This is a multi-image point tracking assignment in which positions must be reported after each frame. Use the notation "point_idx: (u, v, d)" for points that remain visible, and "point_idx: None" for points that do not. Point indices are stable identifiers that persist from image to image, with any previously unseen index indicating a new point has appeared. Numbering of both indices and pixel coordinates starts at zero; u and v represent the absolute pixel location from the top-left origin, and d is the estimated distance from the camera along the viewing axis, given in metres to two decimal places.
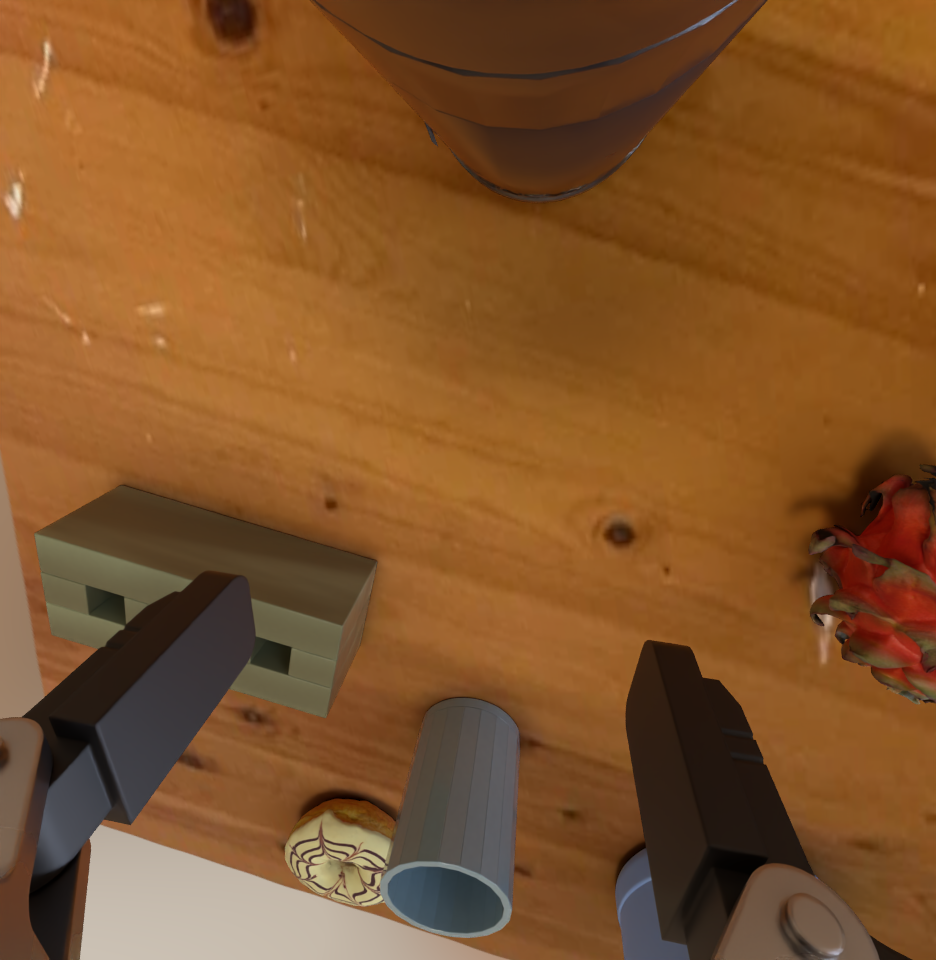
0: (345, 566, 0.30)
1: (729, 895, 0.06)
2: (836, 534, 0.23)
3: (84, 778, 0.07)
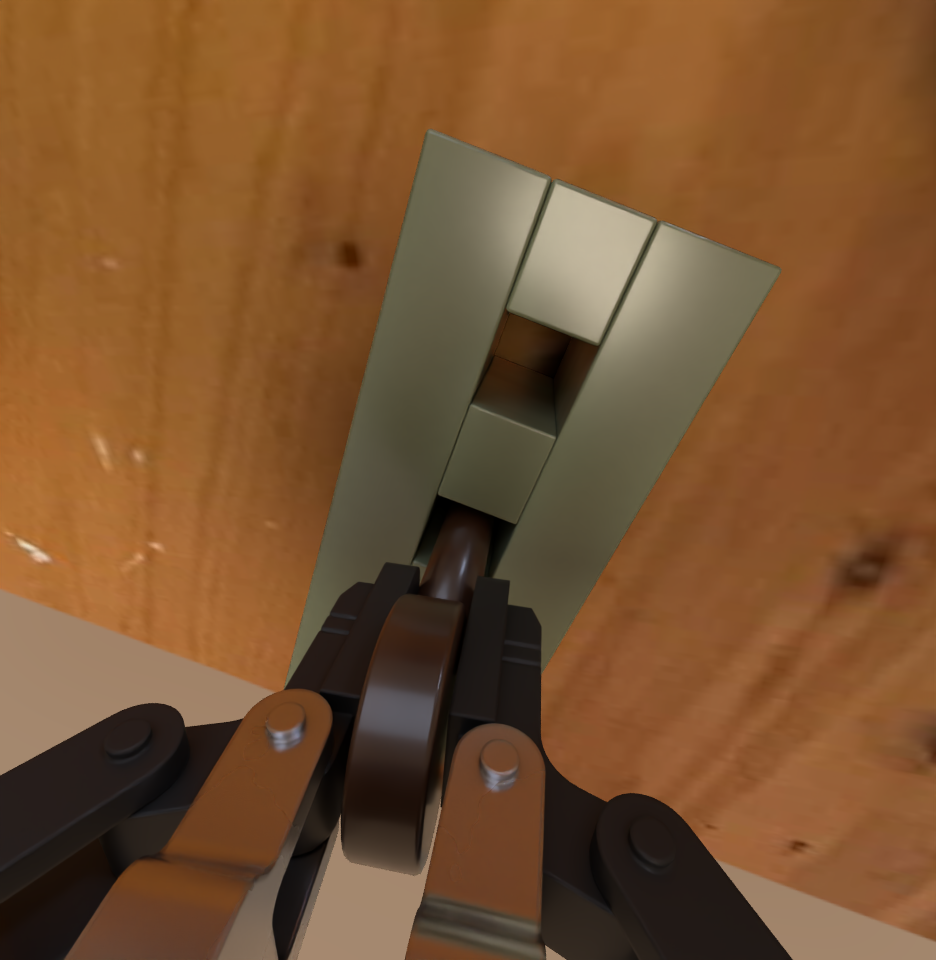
0: None
1: None
2: None
3: (348, 747, 0.07)
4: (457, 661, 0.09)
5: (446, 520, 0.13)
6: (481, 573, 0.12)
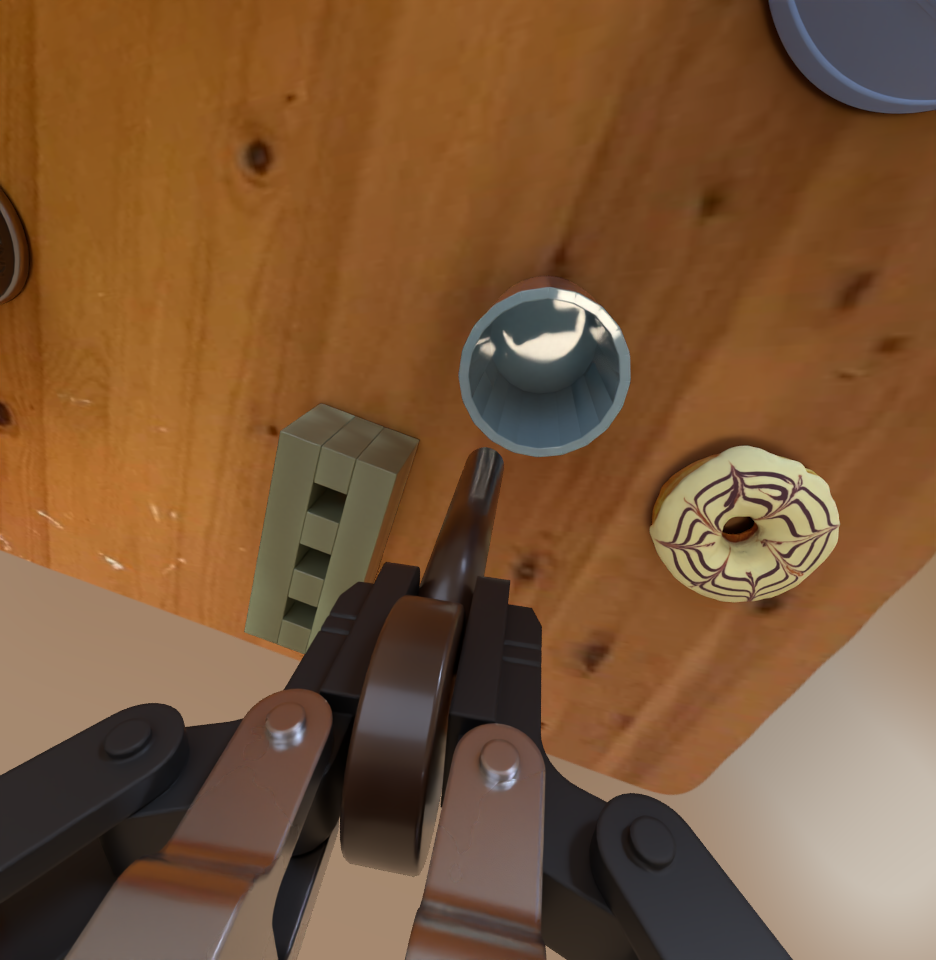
0: None
1: None
2: None
3: (348, 747, 0.07)
4: (456, 662, 0.09)
5: (446, 521, 0.13)
6: (481, 574, 0.12)
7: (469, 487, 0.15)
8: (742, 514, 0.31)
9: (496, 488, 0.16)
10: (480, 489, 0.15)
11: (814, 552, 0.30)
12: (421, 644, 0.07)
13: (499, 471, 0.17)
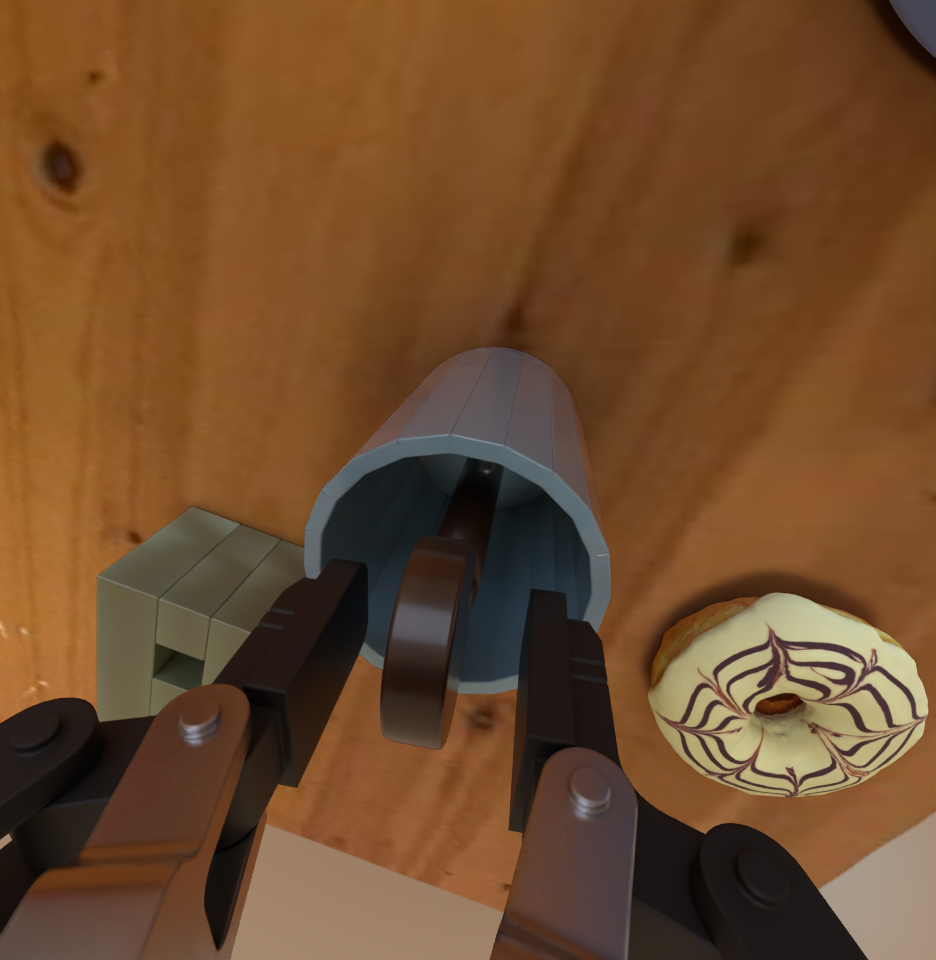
0: None
1: None
2: None
3: (272, 741, 0.07)
4: (469, 591, 0.11)
5: (457, 488, 0.15)
6: (488, 530, 0.13)
7: (476, 461, 0.17)
8: (783, 692, 0.21)
9: None
10: (487, 463, 0.17)
11: (889, 750, 0.21)
12: (442, 564, 0.09)
13: None
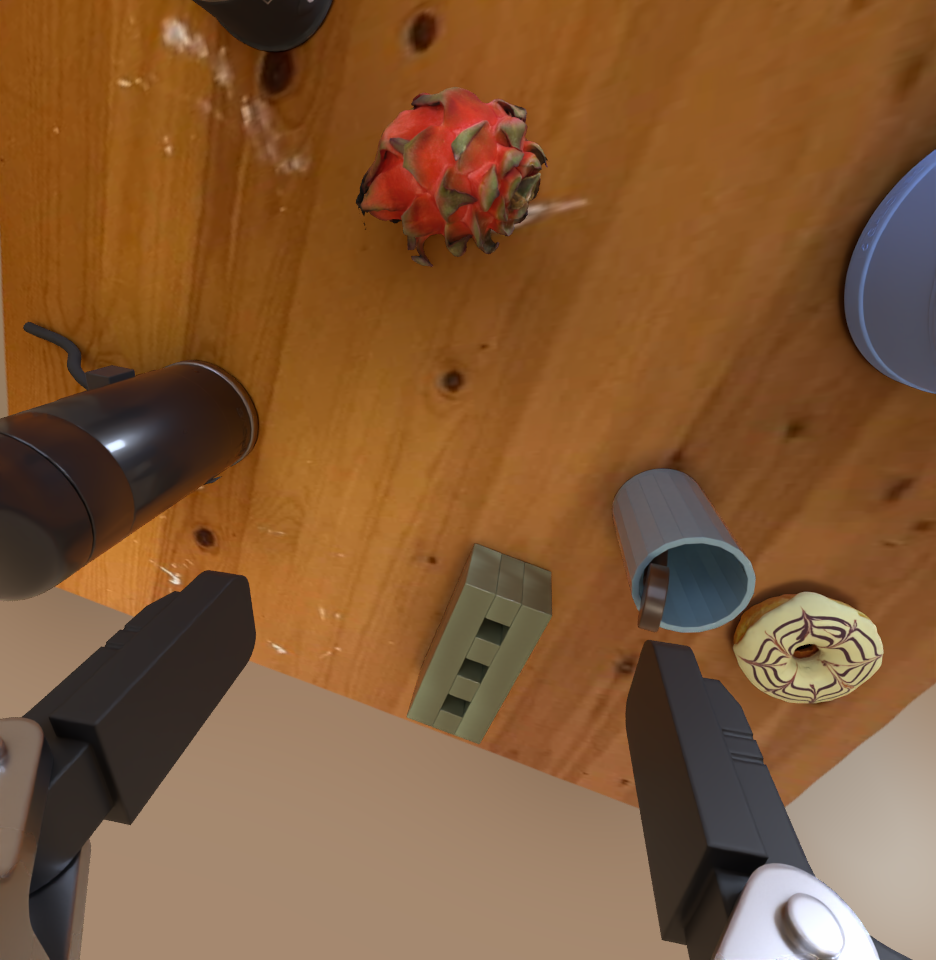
0: (466, 565, 0.44)
1: (729, 895, 0.06)
2: None
3: (84, 778, 0.07)
4: None
5: None
6: None
7: None
8: (809, 643, 0.40)
9: None
10: None
11: (863, 673, 0.40)
12: (662, 573, 0.29)
13: None
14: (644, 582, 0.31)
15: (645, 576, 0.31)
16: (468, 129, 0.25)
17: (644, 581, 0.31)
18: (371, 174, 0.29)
